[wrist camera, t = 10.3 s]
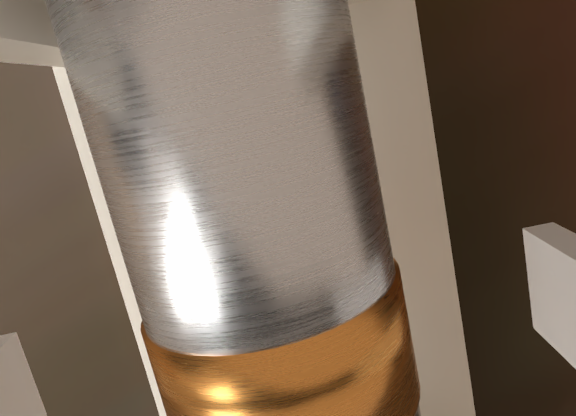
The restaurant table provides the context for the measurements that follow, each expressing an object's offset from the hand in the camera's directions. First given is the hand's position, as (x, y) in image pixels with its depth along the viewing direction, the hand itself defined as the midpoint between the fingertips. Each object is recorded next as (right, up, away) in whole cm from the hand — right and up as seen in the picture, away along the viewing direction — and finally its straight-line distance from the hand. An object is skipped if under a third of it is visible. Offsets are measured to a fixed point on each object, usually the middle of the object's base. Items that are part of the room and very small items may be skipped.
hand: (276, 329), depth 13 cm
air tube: (0, +1, +3) cm, 3 cm away
